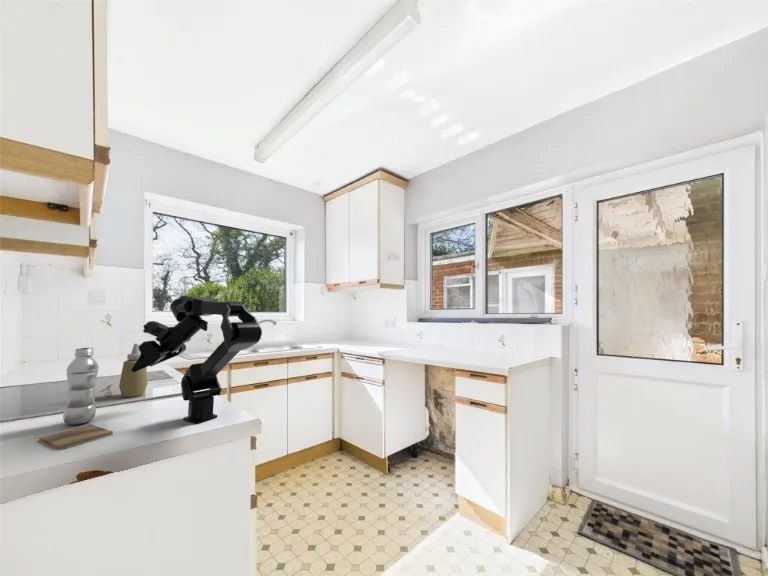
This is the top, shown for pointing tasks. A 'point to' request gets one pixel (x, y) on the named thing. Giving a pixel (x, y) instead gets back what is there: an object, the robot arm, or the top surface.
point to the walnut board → (75, 436)
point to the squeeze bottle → (133, 376)
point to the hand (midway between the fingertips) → (141, 368)
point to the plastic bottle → (81, 388)
